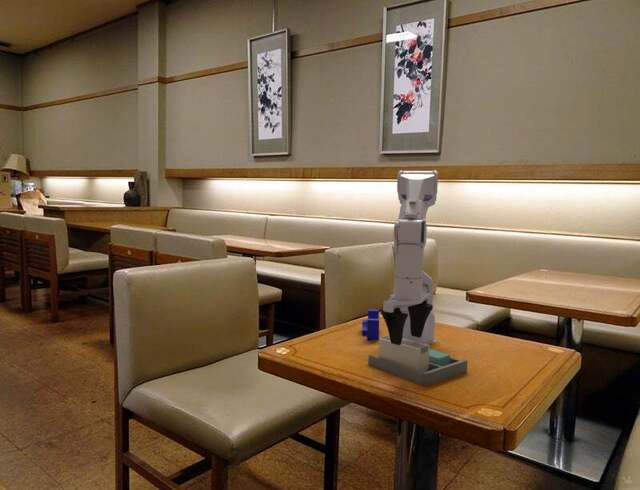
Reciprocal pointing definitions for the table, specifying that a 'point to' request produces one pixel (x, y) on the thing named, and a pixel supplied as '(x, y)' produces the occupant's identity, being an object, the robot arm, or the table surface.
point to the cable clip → (371, 325)
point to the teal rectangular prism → (439, 358)
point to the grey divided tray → (426, 378)
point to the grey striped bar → (405, 354)
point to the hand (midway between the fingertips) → (406, 340)
